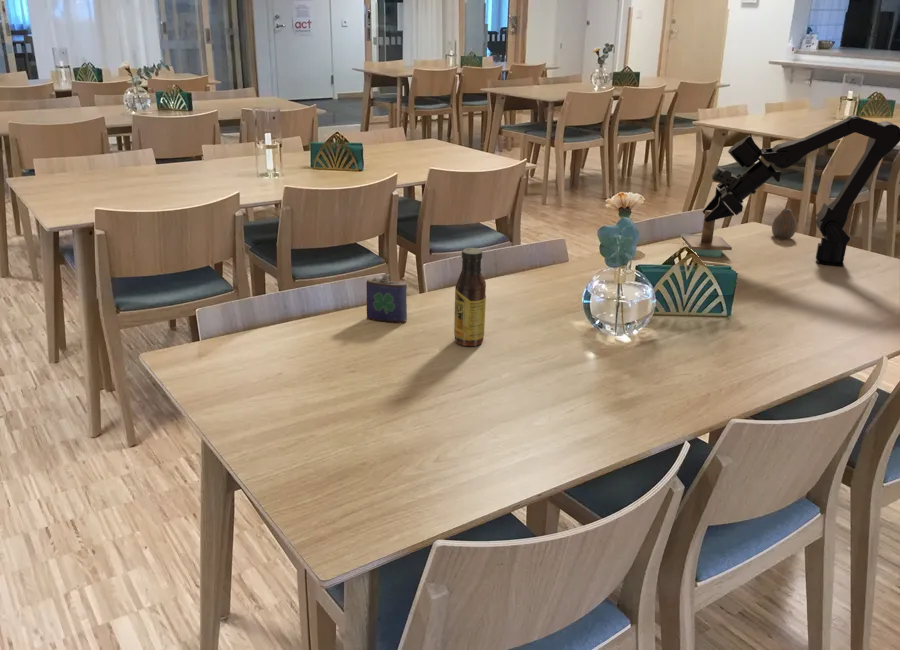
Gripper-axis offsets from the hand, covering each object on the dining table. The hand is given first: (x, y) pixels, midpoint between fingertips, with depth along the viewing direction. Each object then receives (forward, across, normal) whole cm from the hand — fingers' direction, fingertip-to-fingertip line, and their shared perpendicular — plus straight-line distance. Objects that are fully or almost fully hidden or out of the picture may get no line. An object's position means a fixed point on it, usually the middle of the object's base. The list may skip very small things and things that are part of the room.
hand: (704, 216), depth 226 cm
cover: (+4, 0, +7) cm, 8 cm away
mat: (+7, -12, +8) cm, 16 cm away
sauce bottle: (+43, +81, -28) cm, 96 cm away
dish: (+6, 0, +8) cm, 10 cm away
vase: (-10, -23, +26) cm, 36 cm away
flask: (+57, +74, -42) cm, 102 cm away
